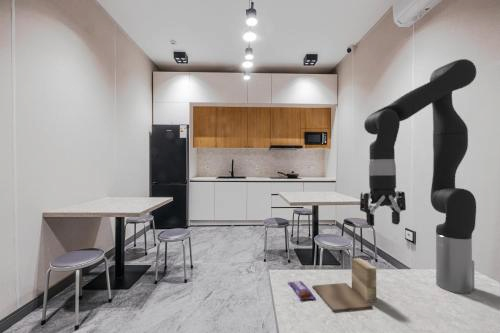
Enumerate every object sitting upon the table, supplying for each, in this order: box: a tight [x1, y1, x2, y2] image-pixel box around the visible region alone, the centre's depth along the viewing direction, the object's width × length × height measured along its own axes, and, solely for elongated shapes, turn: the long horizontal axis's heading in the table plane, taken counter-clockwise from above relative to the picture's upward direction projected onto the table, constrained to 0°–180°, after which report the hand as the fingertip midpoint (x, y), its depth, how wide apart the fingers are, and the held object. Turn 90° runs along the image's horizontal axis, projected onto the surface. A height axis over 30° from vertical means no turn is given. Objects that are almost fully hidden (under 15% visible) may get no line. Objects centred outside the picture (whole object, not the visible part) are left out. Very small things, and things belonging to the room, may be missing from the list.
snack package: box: [287, 280, 316, 301], centre depth 79 cm, size 12×2×5 cm
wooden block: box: [351, 257, 377, 303], centre depth 77 cm, size 3×8×10 cm, turn 9°
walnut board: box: [311, 282, 373, 313], centre depth 75 cm, size 12×14×1 cm
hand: (383, 224), depth 78 cm, fingers open, 8 cm apart
